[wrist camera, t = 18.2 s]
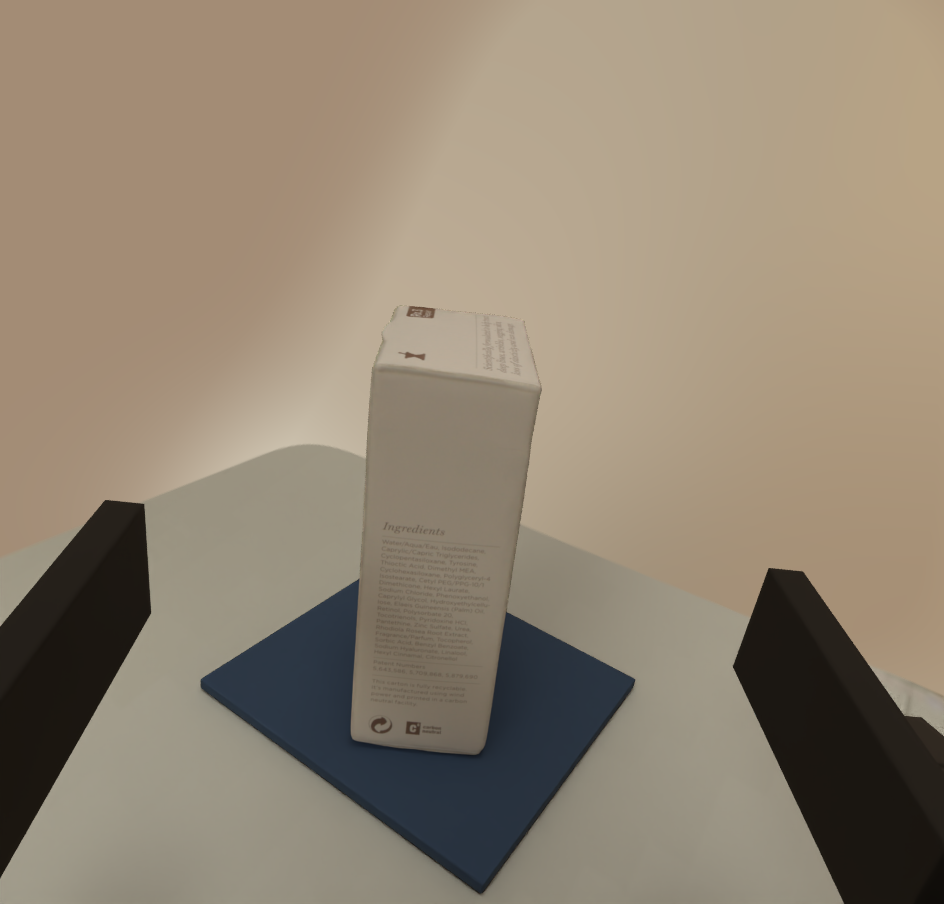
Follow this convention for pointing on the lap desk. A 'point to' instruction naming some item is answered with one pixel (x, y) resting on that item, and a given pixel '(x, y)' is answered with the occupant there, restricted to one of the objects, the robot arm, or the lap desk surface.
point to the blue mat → (418, 771)
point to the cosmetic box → (440, 524)
